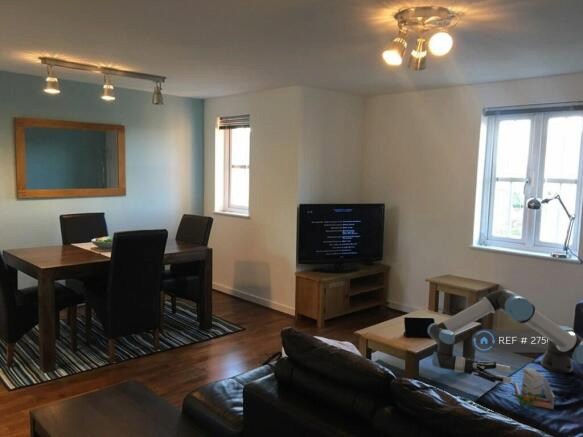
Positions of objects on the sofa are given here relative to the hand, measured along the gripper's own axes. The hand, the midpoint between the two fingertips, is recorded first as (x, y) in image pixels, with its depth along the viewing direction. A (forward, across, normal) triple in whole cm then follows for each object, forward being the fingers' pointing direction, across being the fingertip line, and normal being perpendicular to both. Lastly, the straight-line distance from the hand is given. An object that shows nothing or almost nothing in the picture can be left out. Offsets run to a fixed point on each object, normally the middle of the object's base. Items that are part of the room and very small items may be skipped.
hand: (510, 375), depth 232 cm
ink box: (+10, 0, -8) cm, 13 cm away
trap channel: (+10, +1, -8) cm, 13 cm away
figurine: (+5, +15, -8) cm, 18 cm away
